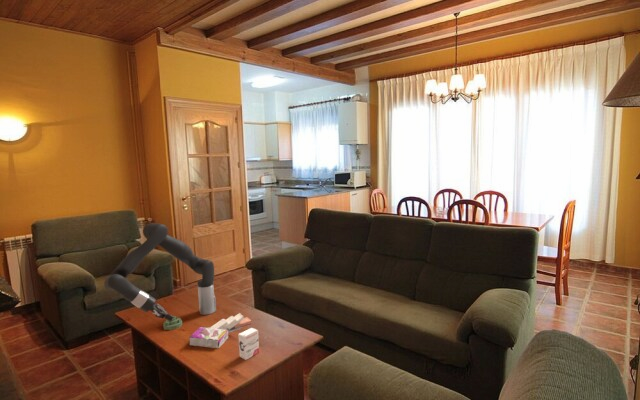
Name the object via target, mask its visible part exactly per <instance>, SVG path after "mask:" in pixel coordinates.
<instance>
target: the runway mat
mask: <svg viewBox="0 0 640 400" xmlns="http://www.w3.org/2000/svg"><path fill="white" fill-rule="evenodd" d="M242 329H243V326H241V327H238V328H234V327H233V328H231V329H230V330H229V329H228V328H227V329H226V330H228V334H229V333H231V332H235V331H239V330H242Z"/></svg>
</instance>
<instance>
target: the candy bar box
mask: <svg viewBox="0 0 640 400" xmlns="http://www.w3.org/2000/svg"><path fill="white" fill-rule="evenodd" d="M188 339H189V341H188V342H189V346H194V347H200V348H209V349H210V348H211V349H219V348H220V347H222V345H223V344H224V343H225V342H226V341H227V340H228V339H229V333H228V330H226V329H217V328H210V327H205V326H199V327H198V328H197V329H196V330H195V331H194V332H193V333H192V334H191V335H190V336H189V338H188Z"/></svg>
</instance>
